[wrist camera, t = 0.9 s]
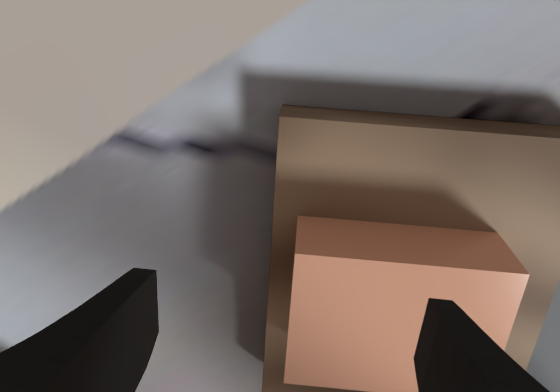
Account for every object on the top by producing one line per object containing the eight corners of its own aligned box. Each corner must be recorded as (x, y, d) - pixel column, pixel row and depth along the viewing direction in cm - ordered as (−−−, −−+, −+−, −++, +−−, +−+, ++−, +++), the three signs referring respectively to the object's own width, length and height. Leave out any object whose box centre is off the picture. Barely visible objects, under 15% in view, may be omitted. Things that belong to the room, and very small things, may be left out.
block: (463, 349, 21) (486, 403, 18) (287, 332, 21) (283, 383, 18) (497, 232, 18) (529, 274, 16) (297, 215, 19) (295, 253, 16)
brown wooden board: (493, 387, 24) (508, 419, 22) (265, 364, 25) (261, 394, 23) (580, 127, 18) (609, 142, 17) (282, 104, 19) (278, 116, 17)
